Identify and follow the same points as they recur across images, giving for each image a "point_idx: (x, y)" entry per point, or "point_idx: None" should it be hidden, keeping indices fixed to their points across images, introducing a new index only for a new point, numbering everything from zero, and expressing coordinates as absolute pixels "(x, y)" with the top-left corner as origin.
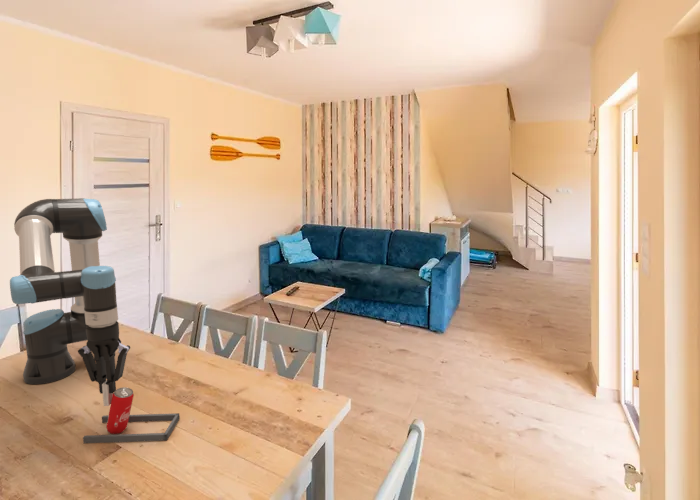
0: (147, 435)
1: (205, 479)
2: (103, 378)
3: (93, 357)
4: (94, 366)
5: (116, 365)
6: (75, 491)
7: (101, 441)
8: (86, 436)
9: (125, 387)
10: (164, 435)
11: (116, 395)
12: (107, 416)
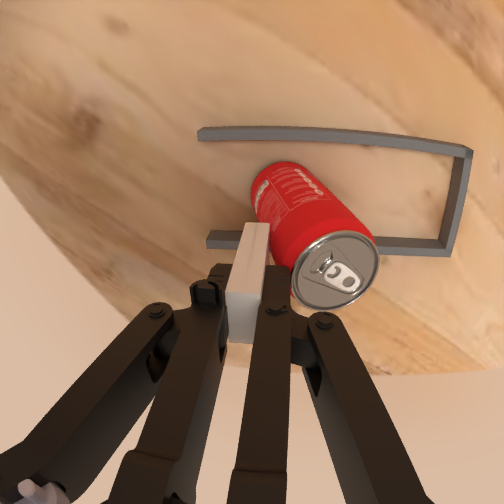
0: (402, 255)
1: (494, 348)
2: (219, 339)
3: (76, 427)
4: (129, 392)
5: (333, 458)
6: (290, 367)
7: None
8: (215, 245)
9: (331, 235)
10: (444, 256)
11: (312, 303)
12: (217, 137)
